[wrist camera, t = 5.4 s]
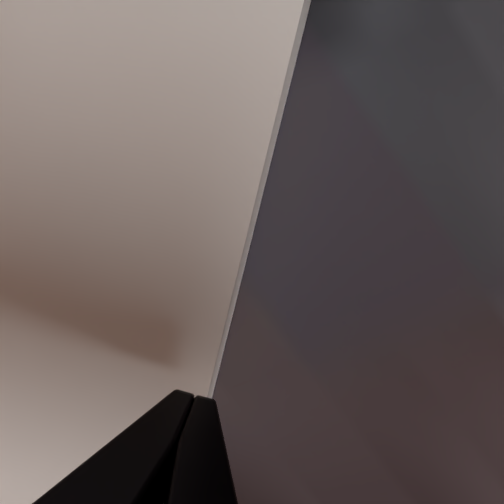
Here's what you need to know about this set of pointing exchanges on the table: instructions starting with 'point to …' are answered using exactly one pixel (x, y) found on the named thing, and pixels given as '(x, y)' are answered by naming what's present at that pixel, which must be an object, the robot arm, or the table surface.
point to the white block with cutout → (125, 208)
